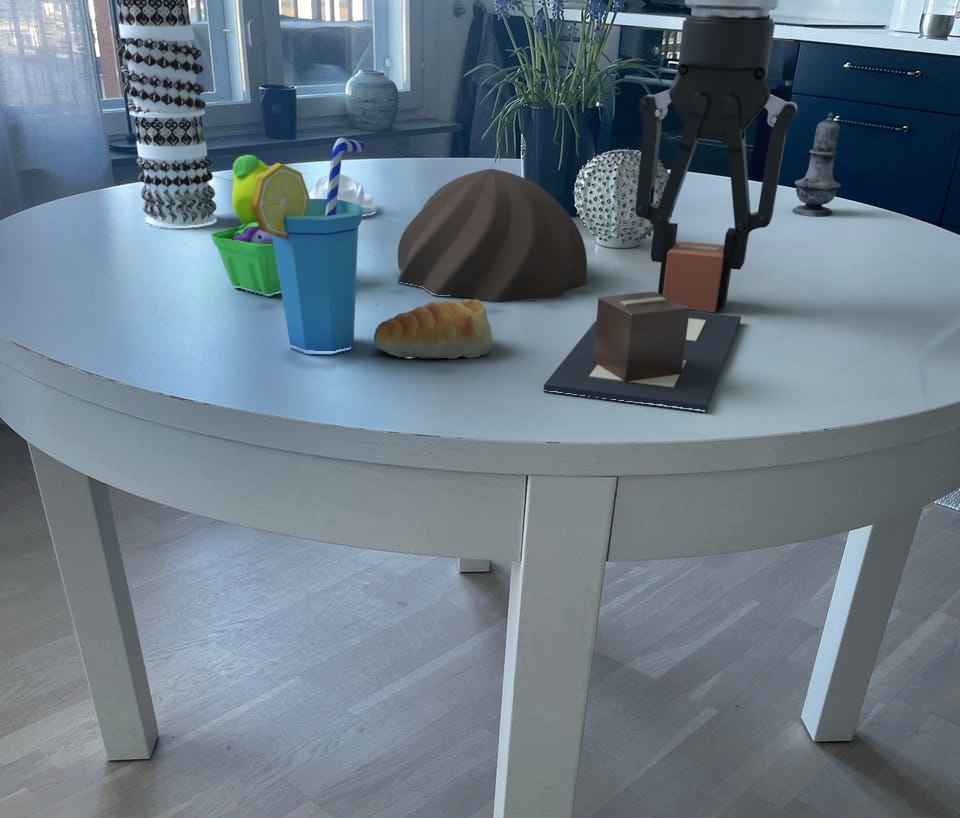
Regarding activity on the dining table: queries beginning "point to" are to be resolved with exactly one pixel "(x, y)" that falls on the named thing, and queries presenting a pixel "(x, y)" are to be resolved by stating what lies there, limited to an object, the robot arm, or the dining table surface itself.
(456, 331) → the pastry
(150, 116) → the bracelet display cylinder
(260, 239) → the fruit basket
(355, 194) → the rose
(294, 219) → the cup
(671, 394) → the word mat
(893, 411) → the dining table surface
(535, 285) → the decorative dome
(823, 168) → the salt shaker
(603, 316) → the letter block
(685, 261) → the letter block
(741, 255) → the robot arm
